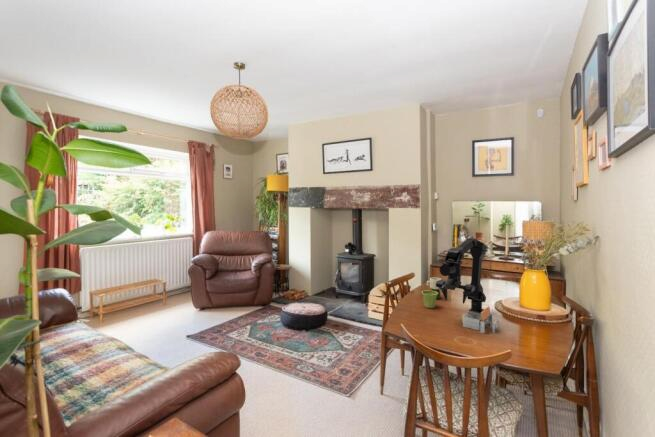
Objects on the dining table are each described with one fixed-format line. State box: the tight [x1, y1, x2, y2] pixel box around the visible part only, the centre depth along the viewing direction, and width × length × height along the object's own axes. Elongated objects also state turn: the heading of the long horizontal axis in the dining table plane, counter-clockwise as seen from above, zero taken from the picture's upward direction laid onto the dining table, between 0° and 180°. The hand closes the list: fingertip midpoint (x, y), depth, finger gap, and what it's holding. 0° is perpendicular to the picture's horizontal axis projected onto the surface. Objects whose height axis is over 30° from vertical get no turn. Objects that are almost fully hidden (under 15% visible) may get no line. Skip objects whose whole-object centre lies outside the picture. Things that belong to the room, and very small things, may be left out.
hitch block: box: [462, 311, 499, 334], centre depth 167 cm, size 14×14×6 cm
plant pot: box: [421, 289, 438, 309], centre depth 199 cm, size 9×9×9 cm
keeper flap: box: [481, 306, 491, 321], centre depth 165 cm, size 12×5×1 cm
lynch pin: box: [460, 313, 492, 328], centre depth 168 cm, size 4×13×4 cm, turn 49°
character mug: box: [426, 276, 442, 300], centre depth 215 cm, size 11×7×13 cm, turn 74°
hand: (454, 301), depth 175 cm, fingers open, 9 cm apart
